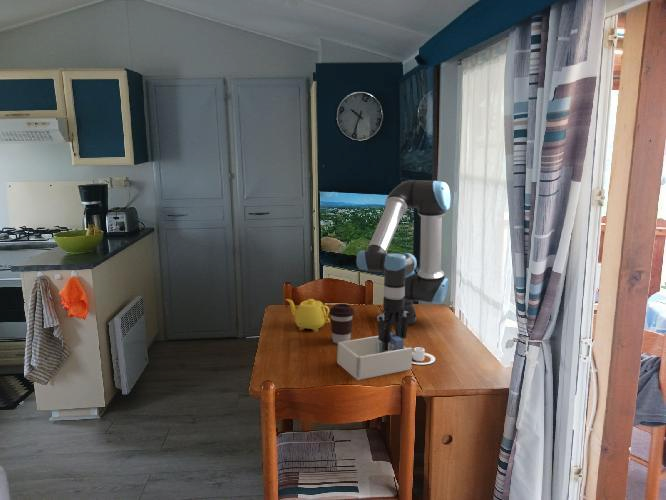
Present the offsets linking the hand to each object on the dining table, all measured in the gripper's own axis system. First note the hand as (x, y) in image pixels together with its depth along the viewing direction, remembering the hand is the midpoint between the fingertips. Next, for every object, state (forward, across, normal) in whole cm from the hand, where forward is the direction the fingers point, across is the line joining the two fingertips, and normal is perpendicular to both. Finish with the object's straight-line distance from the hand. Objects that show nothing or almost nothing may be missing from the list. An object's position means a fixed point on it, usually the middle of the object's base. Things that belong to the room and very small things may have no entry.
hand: (391, 357), depth 203 cm
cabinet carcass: (+2, +8, 0) cm, 8 cm away
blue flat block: (0, 0, 0) cm, 0 cm away
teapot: (+2, +14, -48) cm, 50 cm away
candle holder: (+3, -11, +1) cm, 12 cm away
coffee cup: (+2, +8, -27) cm, 28 cm away
